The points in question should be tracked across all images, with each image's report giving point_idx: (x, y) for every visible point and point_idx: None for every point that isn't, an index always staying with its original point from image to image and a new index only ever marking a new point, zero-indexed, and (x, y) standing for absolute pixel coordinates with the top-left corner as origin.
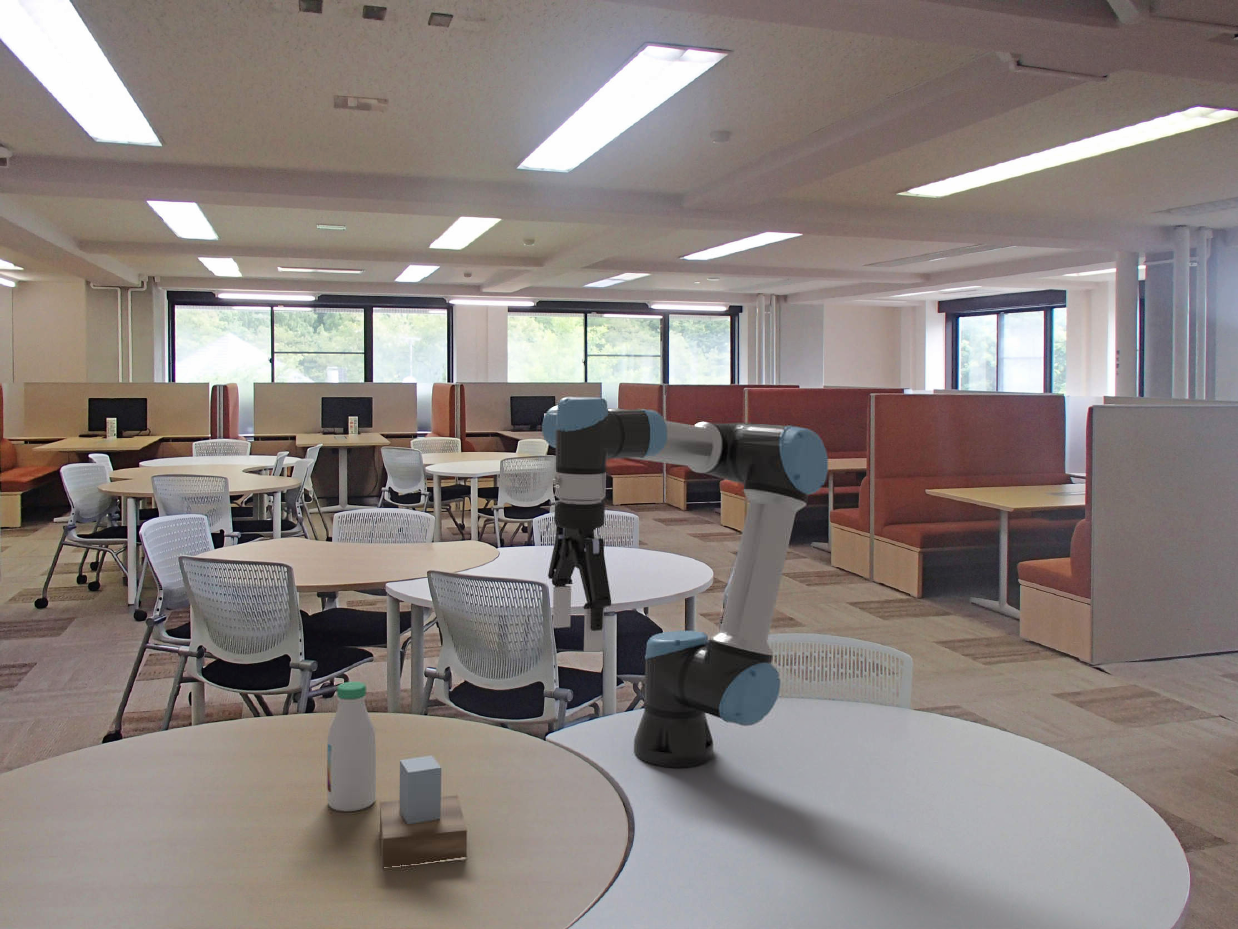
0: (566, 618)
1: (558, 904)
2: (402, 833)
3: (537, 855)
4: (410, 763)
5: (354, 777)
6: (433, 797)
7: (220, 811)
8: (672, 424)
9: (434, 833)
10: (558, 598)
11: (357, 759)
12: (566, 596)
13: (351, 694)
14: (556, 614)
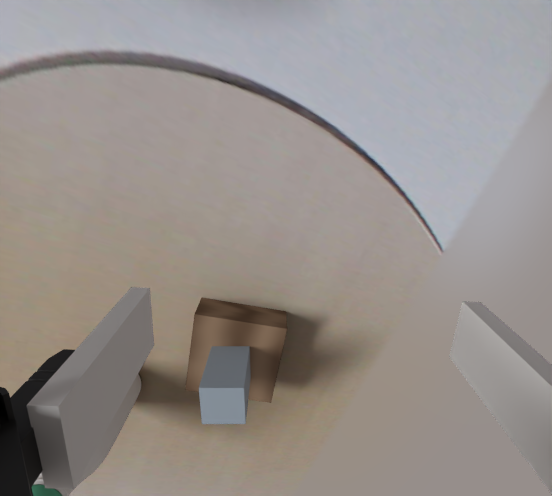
0: (139, 320)
1: (409, 259)
2: (267, 385)
3: (308, 243)
4: (217, 416)
5: (127, 411)
6: (247, 370)
7: (105, 476)
8: None
9: (280, 359)
10: (103, 419)
11: (118, 425)
12: (94, 388)
13: None
14: (134, 371)
